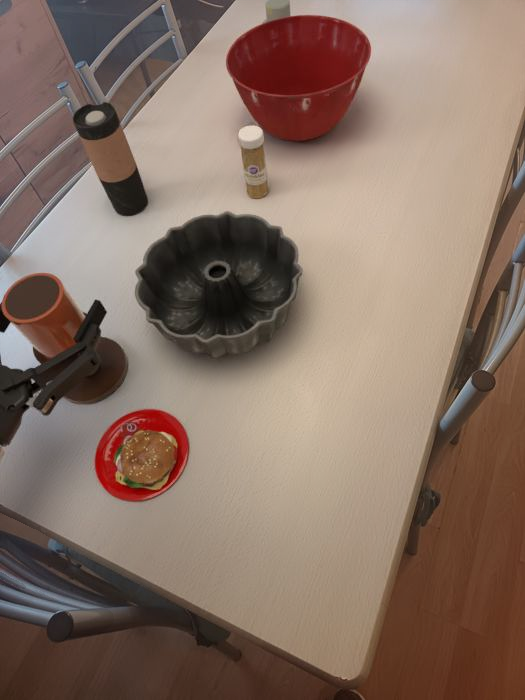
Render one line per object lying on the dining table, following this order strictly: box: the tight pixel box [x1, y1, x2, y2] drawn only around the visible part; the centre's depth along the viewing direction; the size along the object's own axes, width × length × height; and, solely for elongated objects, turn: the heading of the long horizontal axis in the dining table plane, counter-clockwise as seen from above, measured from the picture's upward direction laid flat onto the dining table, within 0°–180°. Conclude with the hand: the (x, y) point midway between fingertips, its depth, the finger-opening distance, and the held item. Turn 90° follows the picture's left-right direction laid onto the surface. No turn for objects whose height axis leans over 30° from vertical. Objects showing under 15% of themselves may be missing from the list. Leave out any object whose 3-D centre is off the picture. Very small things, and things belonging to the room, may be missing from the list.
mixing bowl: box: [225, 14, 372, 142], centre depth 104 cm, size 28×28×16 cm
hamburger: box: [94, 408, 190, 502], centre depth 71 cm, size 14×14×6 cm
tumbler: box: [1, 272, 86, 360], centre depth 69 cm, size 8×8×10 cm
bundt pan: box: [134, 210, 303, 360], centre depth 82 cm, size 26×26×10 cm
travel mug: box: [72, 101, 149, 217], centre depth 94 cm, size 8×8×20 cm
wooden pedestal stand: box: [32, 311, 129, 405], centre depth 78 cm, size 12×12×10 cm
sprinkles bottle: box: [237, 124, 270, 199], centre depth 95 cm, size 5×5×13 cm
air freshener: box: [261, 0, 291, 24], centre depth 124 cm, size 11×8×10 cm
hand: (60, 297), depth 70 cm, fingers open, 12 cm apart
